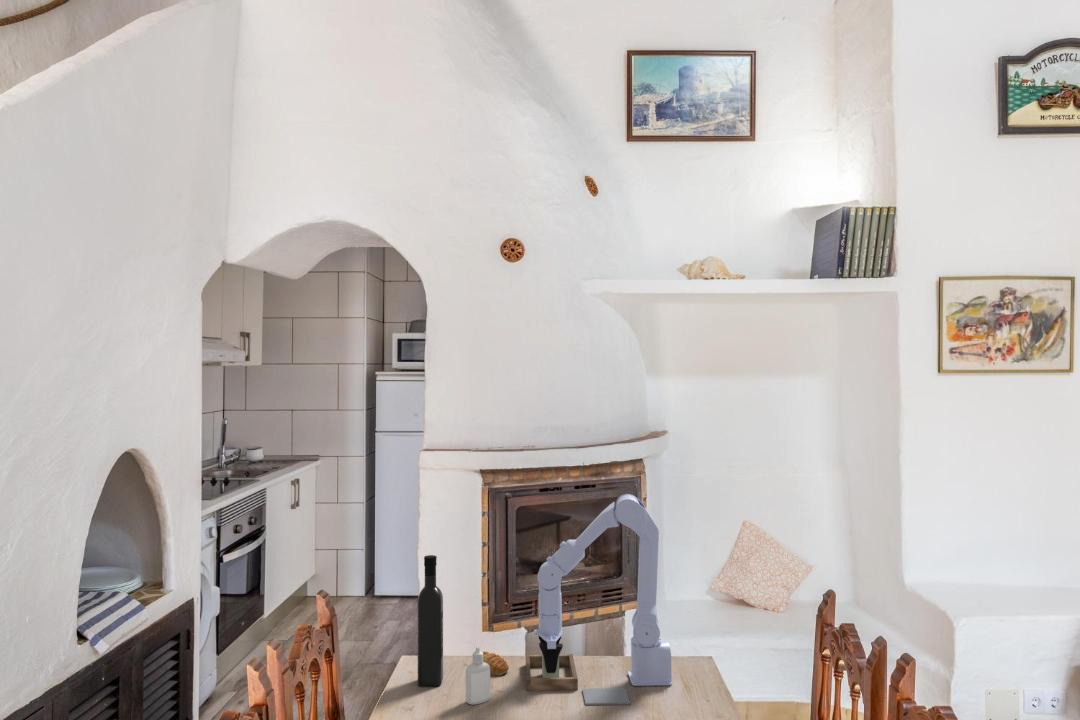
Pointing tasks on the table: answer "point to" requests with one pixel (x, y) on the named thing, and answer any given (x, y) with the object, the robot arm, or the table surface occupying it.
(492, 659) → the pastry
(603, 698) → the mat
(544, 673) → the wood block
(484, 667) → the eye dropper bottle
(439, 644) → the wine bottle
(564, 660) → the box
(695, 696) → the table surface
